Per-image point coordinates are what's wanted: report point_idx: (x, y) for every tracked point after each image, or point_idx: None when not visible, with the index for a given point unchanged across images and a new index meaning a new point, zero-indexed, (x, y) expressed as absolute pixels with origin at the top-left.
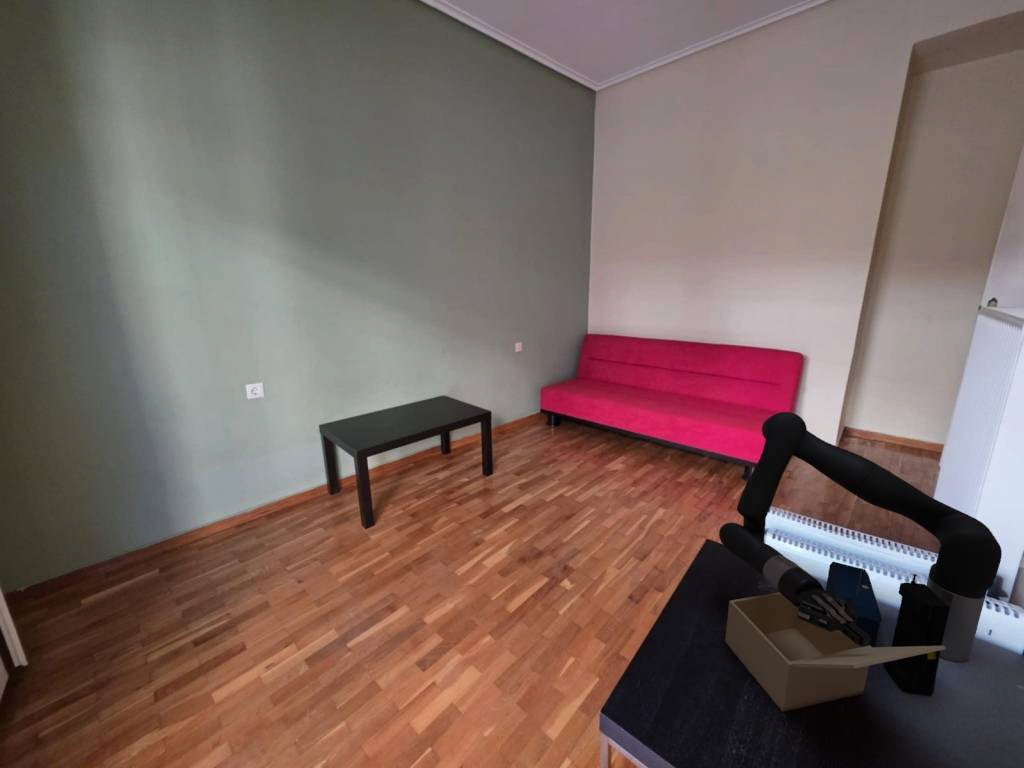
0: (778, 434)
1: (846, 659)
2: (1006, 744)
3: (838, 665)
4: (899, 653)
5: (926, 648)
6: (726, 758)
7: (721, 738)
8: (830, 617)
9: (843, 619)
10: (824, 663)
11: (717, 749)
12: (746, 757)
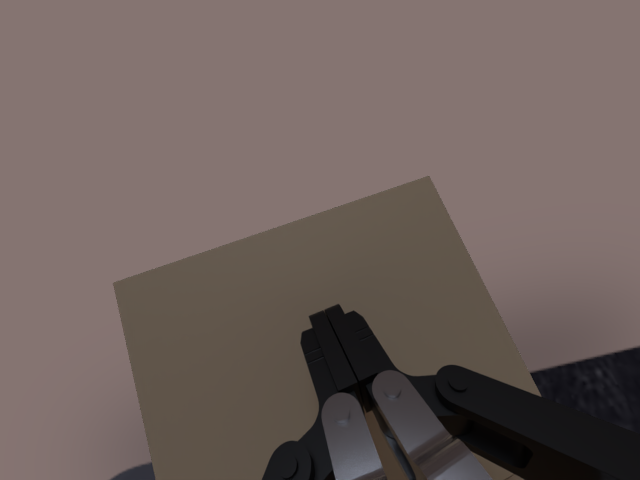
0: None
1: (407, 314)
2: None
3: (453, 226)
4: (269, 259)
5: (171, 281)
6: (604, 356)
7: (637, 392)
8: (461, 400)
9: (379, 402)
10: (476, 298)
11: (630, 368)
12: (570, 366)
